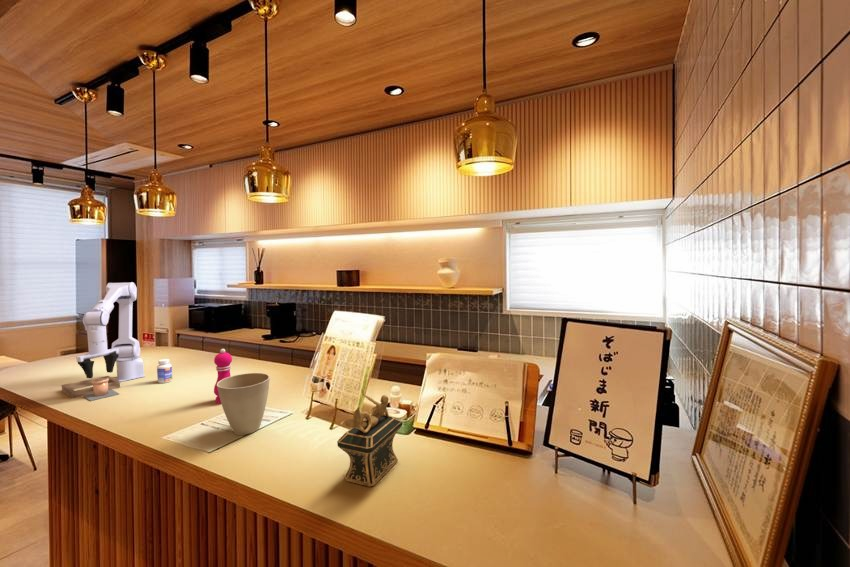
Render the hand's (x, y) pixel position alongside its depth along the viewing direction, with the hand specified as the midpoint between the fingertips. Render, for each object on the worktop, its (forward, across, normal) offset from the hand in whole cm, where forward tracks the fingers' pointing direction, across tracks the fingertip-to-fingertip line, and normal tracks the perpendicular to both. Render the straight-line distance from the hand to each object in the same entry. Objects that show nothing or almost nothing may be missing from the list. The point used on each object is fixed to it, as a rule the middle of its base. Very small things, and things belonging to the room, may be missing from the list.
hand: (100, 375), depth 153 cm
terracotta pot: (+8, 0, 0) cm, 8 cm away
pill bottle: (+9, -20, +10) cm, 24 cm away
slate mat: (+8, 0, 0) cm, 8 cm away
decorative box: (+8, +32, +126) cm, 130 cm away
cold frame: (+8, -5, -12) cm, 16 cm away
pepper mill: (+8, -4, +54) cm, 55 cm away
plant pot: (+8, +16, +80) cm, 82 cm away
